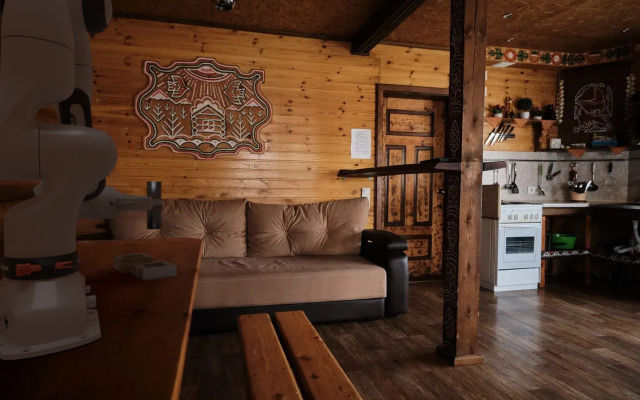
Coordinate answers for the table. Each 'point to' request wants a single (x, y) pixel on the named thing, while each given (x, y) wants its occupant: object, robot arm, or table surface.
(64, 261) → the robot arm
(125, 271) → the rack
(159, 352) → the table surface
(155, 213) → the dark rounded handle
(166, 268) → the socket
